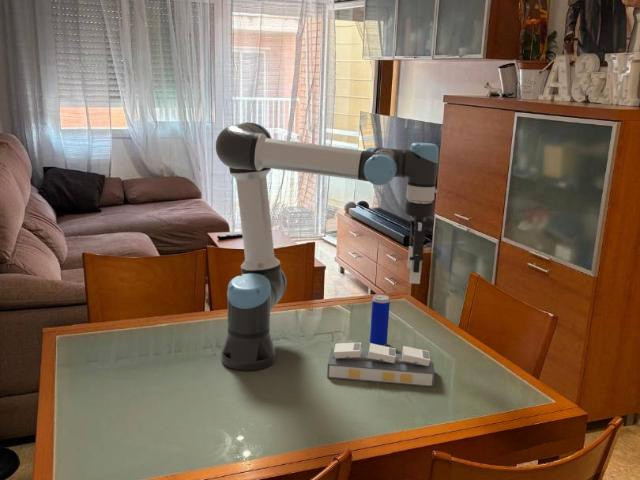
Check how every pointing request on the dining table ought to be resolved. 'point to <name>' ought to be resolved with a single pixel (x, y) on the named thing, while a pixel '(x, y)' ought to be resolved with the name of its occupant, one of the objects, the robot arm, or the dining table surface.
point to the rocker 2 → (382, 353)
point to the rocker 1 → (347, 350)
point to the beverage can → (379, 320)
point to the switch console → (380, 370)
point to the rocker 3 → (415, 356)
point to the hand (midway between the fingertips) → (413, 275)
